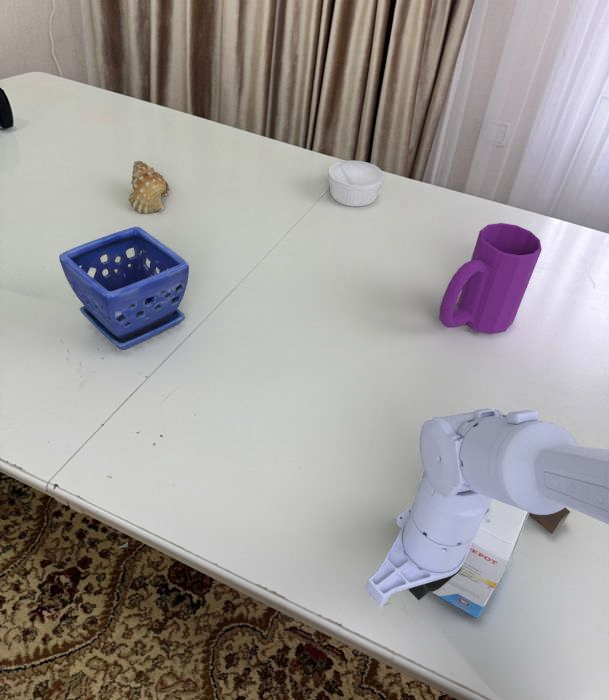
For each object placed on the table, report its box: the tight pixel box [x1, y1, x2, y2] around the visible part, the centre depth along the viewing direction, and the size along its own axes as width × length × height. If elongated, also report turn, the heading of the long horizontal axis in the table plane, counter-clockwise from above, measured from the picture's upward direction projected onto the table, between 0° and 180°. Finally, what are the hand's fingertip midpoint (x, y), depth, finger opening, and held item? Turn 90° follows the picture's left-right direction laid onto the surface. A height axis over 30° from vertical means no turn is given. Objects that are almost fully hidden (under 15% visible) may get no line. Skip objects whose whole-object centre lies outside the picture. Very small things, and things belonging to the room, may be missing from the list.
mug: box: [438, 222, 542, 335], centre depth 94 cm, size 9×16×15 cm, turn 124°
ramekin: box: [327, 159, 385, 208], centre depth 126 cm, size 11×11×5 cm
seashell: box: [127, 160, 171, 215], centre depth 119 cm, size 9×8×10 cm
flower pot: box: [58, 226, 190, 351], centre depth 90 cm, size 13×13×12 cm
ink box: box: [431, 499, 530, 619], centre depth 64 cm, size 8×8×12 cm
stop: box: [528, 507, 571, 535], centre depth 75 cm, size 12×2×3 cm, turn 38°
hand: (414, 590), depth 63 cm, fingers closed
